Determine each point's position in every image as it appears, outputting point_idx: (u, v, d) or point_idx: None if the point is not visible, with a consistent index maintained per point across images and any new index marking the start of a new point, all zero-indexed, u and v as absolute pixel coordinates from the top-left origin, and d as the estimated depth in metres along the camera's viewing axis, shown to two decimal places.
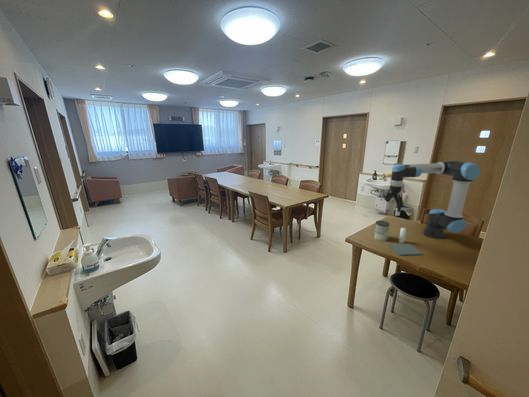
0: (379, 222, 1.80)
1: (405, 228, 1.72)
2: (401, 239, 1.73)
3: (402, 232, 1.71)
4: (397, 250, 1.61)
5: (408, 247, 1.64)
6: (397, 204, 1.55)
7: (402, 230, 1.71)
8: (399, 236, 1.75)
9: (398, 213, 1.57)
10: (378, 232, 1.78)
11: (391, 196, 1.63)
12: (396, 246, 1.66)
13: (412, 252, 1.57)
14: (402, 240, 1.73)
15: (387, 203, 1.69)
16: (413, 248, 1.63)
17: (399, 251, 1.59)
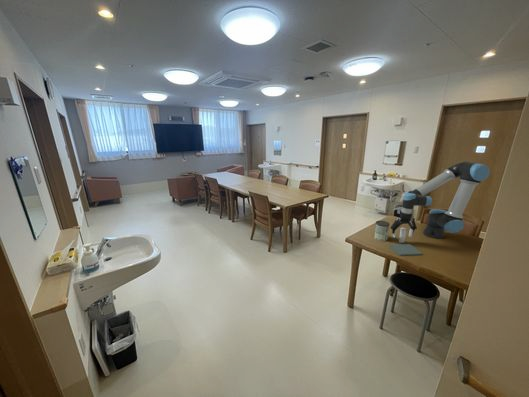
0: (379, 222, 1.80)
1: (405, 228, 1.72)
2: (401, 239, 1.73)
3: (402, 232, 1.71)
4: (397, 250, 1.61)
5: (408, 247, 1.64)
6: None
7: (402, 230, 1.71)
8: (399, 236, 1.75)
9: (393, 235, 1.73)
10: (378, 232, 1.78)
11: None
12: (396, 246, 1.66)
13: (412, 252, 1.57)
14: (402, 240, 1.73)
15: (410, 230, 1.73)
16: (413, 248, 1.63)
17: (399, 251, 1.59)
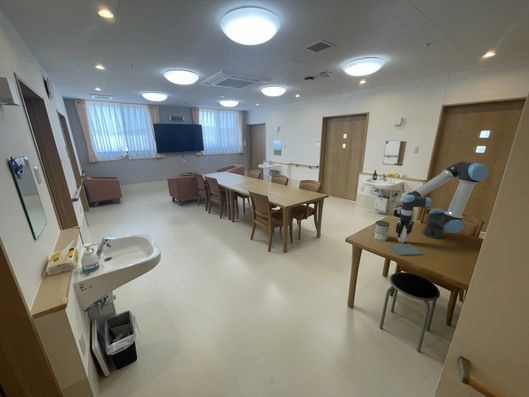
0: (379, 222, 1.80)
1: (405, 228, 1.72)
2: (401, 239, 1.73)
3: (402, 232, 1.71)
4: (397, 250, 1.61)
5: (408, 247, 1.64)
6: None
7: (402, 230, 1.71)
8: None
9: (399, 239, 1.74)
10: (378, 232, 1.78)
11: (405, 225, 1.71)
12: (396, 246, 1.66)
13: (412, 252, 1.57)
14: (402, 240, 1.73)
15: None
16: (413, 248, 1.63)
17: (399, 251, 1.59)
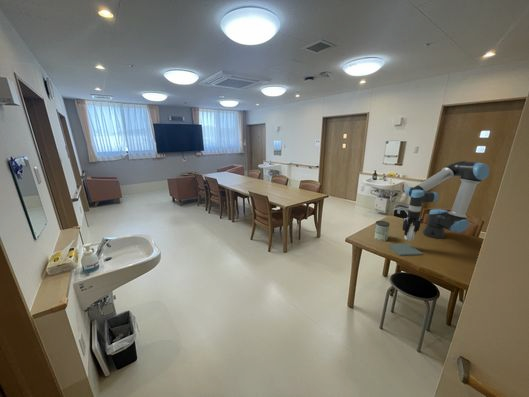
0: (379, 222, 1.80)
1: (413, 225, 1.61)
2: (408, 237, 1.63)
3: (410, 229, 1.61)
4: (397, 250, 1.61)
5: (408, 247, 1.64)
6: None
7: (410, 227, 1.61)
8: None
9: (406, 237, 1.64)
10: (378, 232, 1.78)
11: (413, 222, 1.61)
12: (396, 246, 1.66)
13: (412, 252, 1.57)
14: (409, 238, 1.62)
15: None
16: (413, 248, 1.63)
17: (399, 251, 1.59)
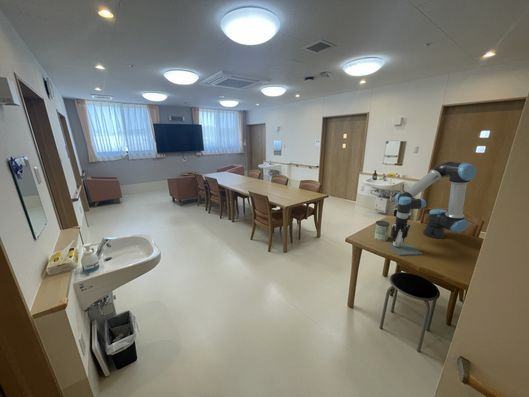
0: (379, 222, 1.80)
1: None
2: (397, 243, 1.64)
3: (398, 235, 1.62)
4: (397, 250, 1.61)
5: (408, 247, 1.64)
6: None
7: (398, 233, 1.62)
8: None
9: (394, 243, 1.65)
10: (378, 232, 1.78)
11: (401, 228, 1.62)
12: None
13: (412, 252, 1.57)
14: (398, 244, 1.64)
15: None
16: (413, 248, 1.63)
17: (399, 251, 1.59)
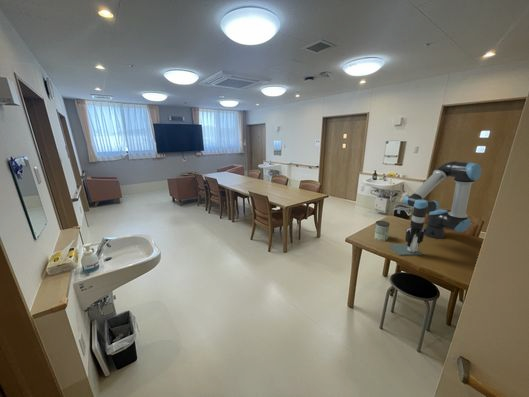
0: (379, 222, 1.80)
1: (416, 236, 1.55)
2: (412, 248, 1.56)
3: (413, 240, 1.55)
4: (397, 250, 1.61)
5: None
6: None
7: (413, 238, 1.54)
8: None
9: (409, 248, 1.57)
10: (378, 232, 1.78)
11: (416, 233, 1.55)
12: (396, 246, 1.66)
13: (412, 252, 1.57)
14: (413, 249, 1.56)
15: None
16: None
17: (399, 251, 1.59)
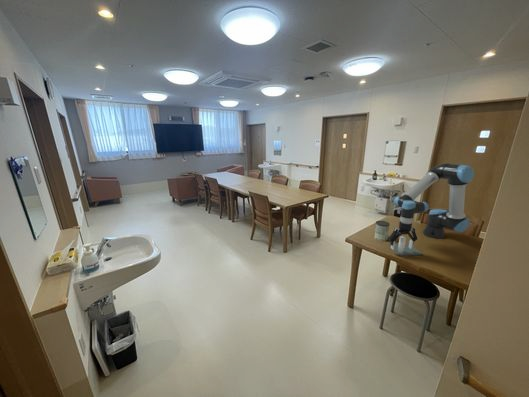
0: (379, 222, 1.80)
1: (405, 237, 1.55)
2: (400, 249, 1.56)
3: (401, 241, 1.55)
4: (397, 250, 1.61)
5: (408, 247, 1.64)
6: None
7: (401, 239, 1.54)
8: (398, 246, 1.58)
9: (392, 247, 1.57)
10: (378, 232, 1.78)
11: (407, 233, 1.55)
12: (396, 246, 1.66)
13: (412, 252, 1.57)
14: (401, 250, 1.56)
15: (410, 241, 1.57)
16: (413, 248, 1.63)
17: None
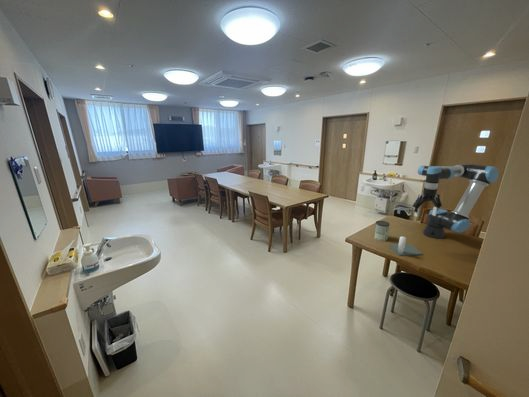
0: (379, 222, 1.80)
1: (405, 237, 1.55)
2: (400, 249, 1.56)
3: (401, 241, 1.55)
4: (397, 250, 1.61)
5: (408, 247, 1.64)
6: None
7: (401, 239, 1.54)
8: (398, 246, 1.58)
9: (416, 214, 1.57)
10: (378, 232, 1.78)
11: (431, 200, 1.55)
12: (396, 246, 1.66)
13: (412, 252, 1.57)
14: (401, 250, 1.56)
15: (434, 208, 1.57)
16: (413, 248, 1.63)
17: None
